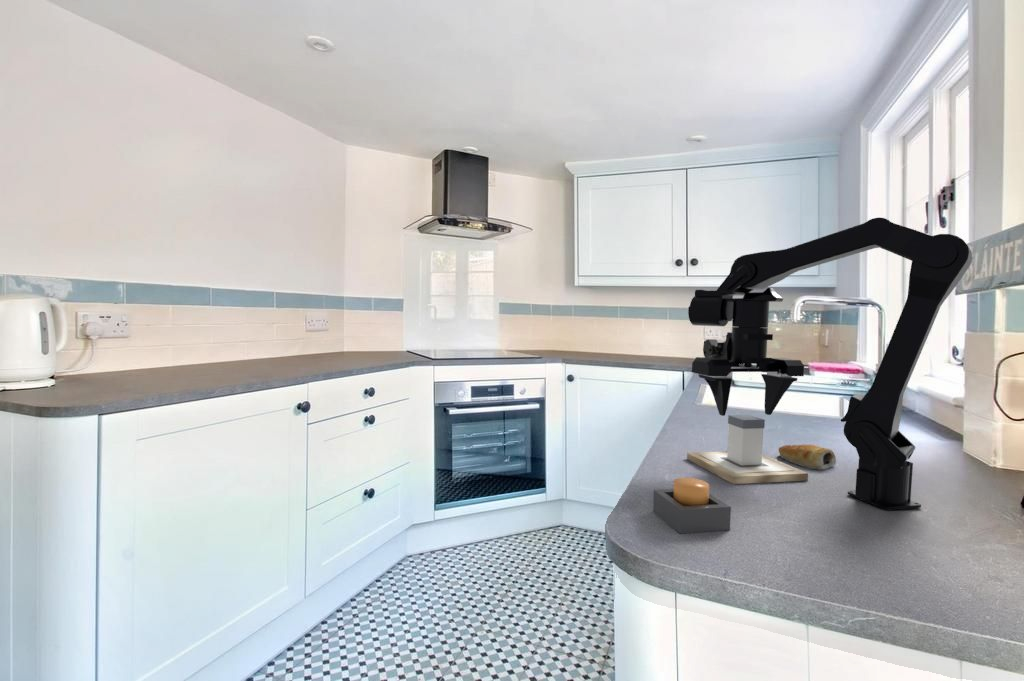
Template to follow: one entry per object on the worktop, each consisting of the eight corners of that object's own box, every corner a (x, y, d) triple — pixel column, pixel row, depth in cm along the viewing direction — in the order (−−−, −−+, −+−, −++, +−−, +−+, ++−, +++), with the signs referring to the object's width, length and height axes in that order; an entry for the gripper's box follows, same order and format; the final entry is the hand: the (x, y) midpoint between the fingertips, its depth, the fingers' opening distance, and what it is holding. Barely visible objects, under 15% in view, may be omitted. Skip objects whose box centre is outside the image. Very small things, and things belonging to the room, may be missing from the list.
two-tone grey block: (746, 457, 91) (748, 414, 90) (762, 464, 87) (764, 419, 86) (726, 458, 90) (728, 415, 89) (741, 465, 86) (743, 420, 85)
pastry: (770, 458, 96) (771, 439, 96) (790, 454, 100) (791, 436, 99) (819, 472, 88) (820, 451, 88) (840, 467, 91) (841, 447, 91)
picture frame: (752, 456, 96) (752, 449, 96) (807, 480, 83) (808, 472, 83) (686, 458, 94) (687, 451, 94) (733, 484, 80) (733, 475, 80)
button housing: (698, 508, 69) (699, 487, 69) (729, 529, 63) (731, 506, 62) (653, 511, 68) (653, 489, 68) (679, 533, 61) (680, 509, 61)
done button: (696, 494, 68) (697, 477, 68) (715, 506, 64) (716, 488, 63) (667, 495, 67) (667, 478, 67) (684, 508, 63) (685, 489, 63)
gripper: (764, 327, 97) (760, 405, 98) (677, 325, 93) (674, 406, 94) (809, 329, 86) (803, 417, 87) (712, 327, 82) (708, 419, 83)
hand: (745, 414), depth 88 cm, fingers open, 9 cm apart
